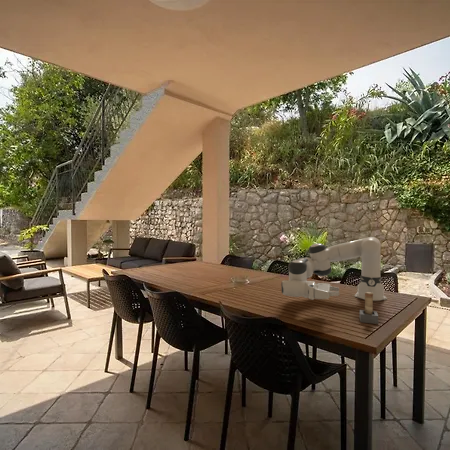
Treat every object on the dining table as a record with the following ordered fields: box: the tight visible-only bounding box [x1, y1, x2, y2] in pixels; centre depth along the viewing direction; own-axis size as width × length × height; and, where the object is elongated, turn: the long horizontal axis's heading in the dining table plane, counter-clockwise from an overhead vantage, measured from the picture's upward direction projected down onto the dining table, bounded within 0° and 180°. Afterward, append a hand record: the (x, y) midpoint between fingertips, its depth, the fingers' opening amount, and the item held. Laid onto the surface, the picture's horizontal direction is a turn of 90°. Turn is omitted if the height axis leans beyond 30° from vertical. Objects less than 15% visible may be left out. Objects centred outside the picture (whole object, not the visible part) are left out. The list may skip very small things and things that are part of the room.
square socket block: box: [358, 309, 379, 325], centre depth 162 cm, size 8×8×4 cm
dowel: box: [364, 292, 374, 315], centre depth 161 cm, size 4×4×13 cm
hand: (339, 291), depth 166 cm, fingers open, 8 cm apart
